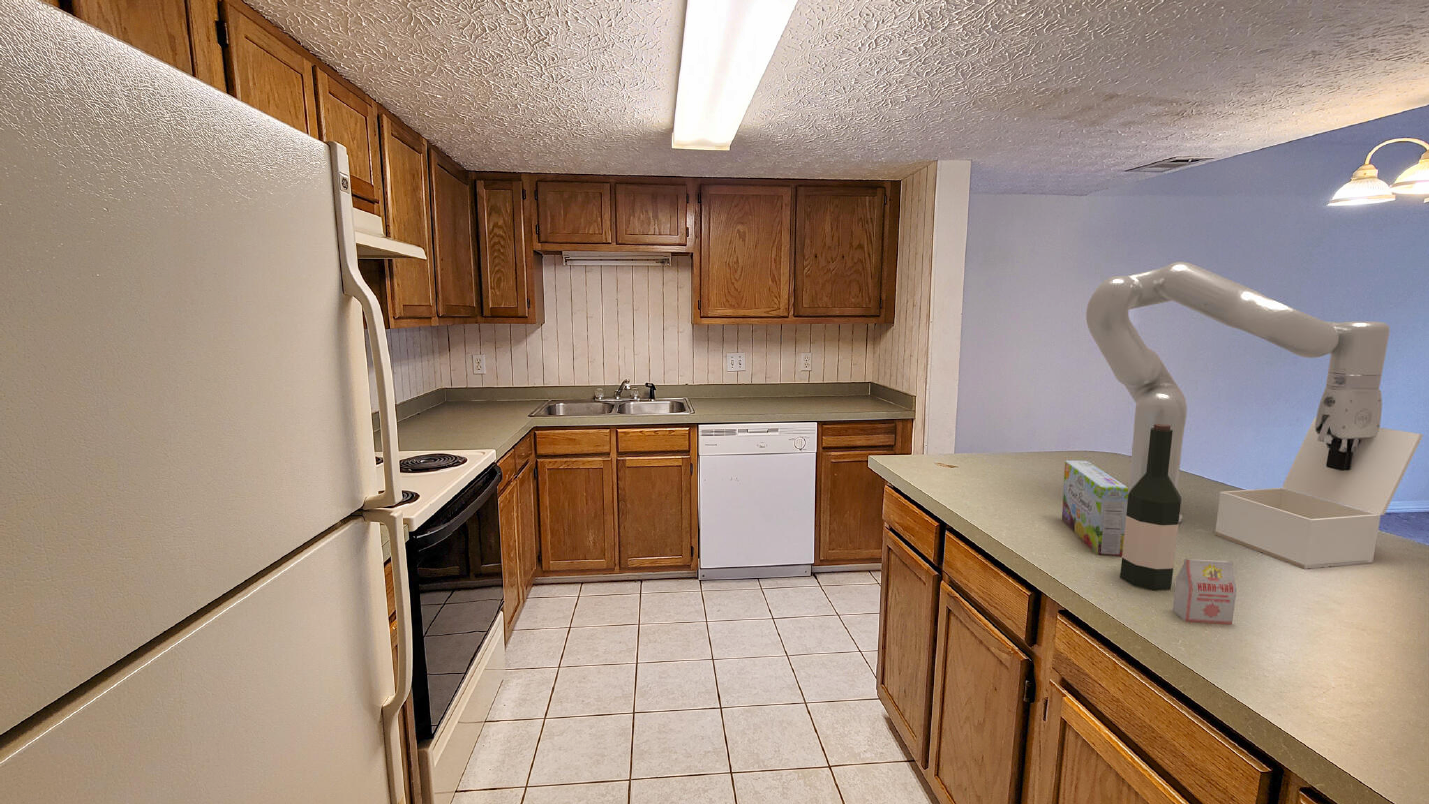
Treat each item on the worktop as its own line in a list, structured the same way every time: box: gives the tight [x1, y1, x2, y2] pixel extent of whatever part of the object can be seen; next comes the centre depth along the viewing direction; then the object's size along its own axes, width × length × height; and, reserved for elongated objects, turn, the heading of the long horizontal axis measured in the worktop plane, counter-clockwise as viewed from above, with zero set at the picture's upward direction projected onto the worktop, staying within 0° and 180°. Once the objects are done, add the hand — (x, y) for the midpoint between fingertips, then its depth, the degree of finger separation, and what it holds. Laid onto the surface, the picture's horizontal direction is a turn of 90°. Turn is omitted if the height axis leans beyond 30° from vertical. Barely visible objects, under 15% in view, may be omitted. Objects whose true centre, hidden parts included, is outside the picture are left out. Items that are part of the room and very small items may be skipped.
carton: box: [1214, 487, 1382, 570], centre depth 125 cm, size 16×18×10 cm
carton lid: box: [1281, 416, 1424, 516], centre depth 124 cm, size 17×18×1 cm
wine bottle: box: [1119, 424, 1182, 592], centre depth 109 cm, size 8×8×30 cm
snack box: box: [1061, 460, 1129, 557], centre depth 132 cm, size 21×6×15 cm, turn 168°
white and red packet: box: [1172, 558, 1237, 625], centre depth 98 cm, size 4×7×10 cm, turn 80°
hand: (1337, 468), depth 124 cm, fingers closed
